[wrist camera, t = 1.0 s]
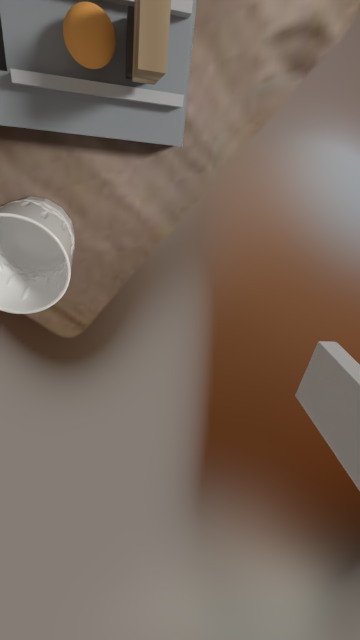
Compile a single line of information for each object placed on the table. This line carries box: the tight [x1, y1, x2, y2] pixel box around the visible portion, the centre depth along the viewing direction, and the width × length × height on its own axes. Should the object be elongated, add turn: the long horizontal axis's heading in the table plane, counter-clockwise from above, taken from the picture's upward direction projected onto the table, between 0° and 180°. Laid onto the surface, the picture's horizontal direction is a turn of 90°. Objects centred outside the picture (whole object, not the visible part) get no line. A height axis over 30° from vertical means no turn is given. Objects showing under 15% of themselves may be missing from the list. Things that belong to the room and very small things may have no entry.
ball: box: [63, 1, 116, 69], centre depth 22 cm, size 4×4×4 cm
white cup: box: [0, 196, 75, 314], centre depth 28 cm, size 8×8×10 cm
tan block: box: [125, 0, 171, 85], centre depth 21 cm, size 2×4×8 cm, turn 174°
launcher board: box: [0, 0, 197, 147], centre depth 24 cm, size 20×12×4 cm, turn 83°
